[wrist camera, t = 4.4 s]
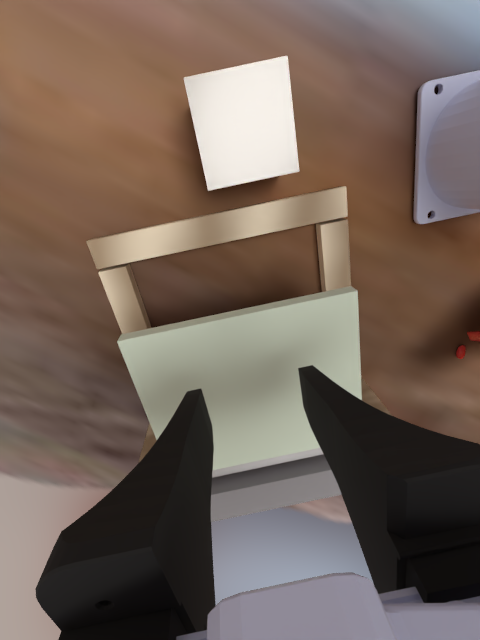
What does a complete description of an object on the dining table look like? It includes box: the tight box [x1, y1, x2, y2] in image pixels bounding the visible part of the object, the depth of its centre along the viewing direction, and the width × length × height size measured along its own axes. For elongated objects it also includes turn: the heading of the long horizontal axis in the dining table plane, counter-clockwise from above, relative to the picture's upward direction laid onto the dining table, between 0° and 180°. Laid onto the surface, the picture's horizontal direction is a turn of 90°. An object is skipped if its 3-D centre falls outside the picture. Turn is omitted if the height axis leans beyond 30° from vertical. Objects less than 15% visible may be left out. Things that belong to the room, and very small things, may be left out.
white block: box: [184, 56, 299, 191], centre depth 16 cm, size 4×4×5 cm
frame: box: [86, 186, 392, 462], centre depth 21 cm, size 16×20×7 cm
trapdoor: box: [117, 286, 362, 522], centre depth 18 cm, size 12×13×2 cm
